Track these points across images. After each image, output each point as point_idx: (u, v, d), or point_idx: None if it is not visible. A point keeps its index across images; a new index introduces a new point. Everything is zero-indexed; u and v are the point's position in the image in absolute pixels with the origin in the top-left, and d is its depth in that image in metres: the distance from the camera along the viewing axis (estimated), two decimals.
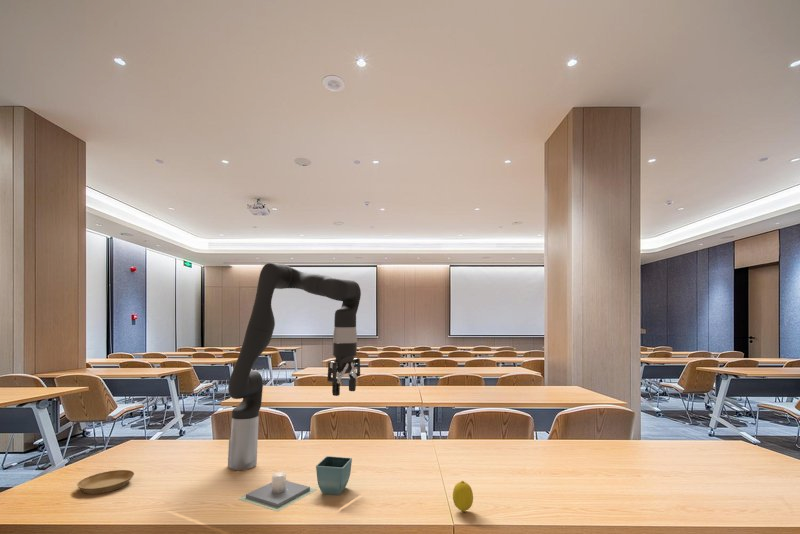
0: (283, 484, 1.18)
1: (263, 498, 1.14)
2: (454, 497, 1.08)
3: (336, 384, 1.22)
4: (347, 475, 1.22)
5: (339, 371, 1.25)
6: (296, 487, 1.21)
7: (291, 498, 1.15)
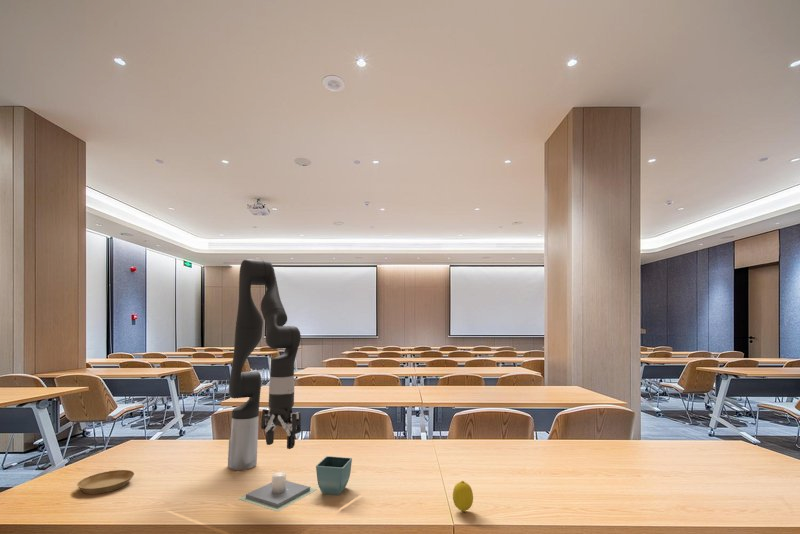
0: (283, 484, 1.18)
1: (263, 498, 1.14)
2: (454, 497, 1.08)
3: None
4: (347, 475, 1.22)
5: (287, 423, 1.20)
6: (296, 487, 1.21)
7: (291, 498, 1.15)
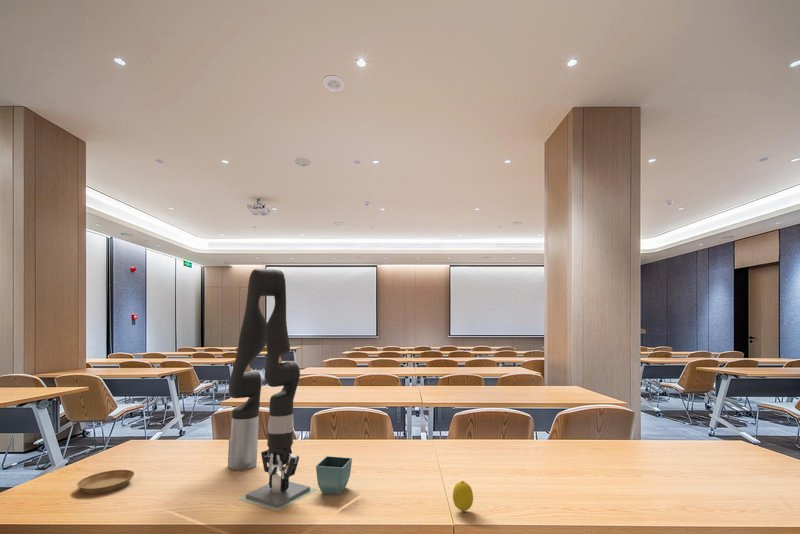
0: None
1: (263, 498, 1.14)
2: (454, 497, 1.08)
3: None
4: (347, 475, 1.22)
5: None
6: (296, 487, 1.21)
7: (291, 498, 1.15)
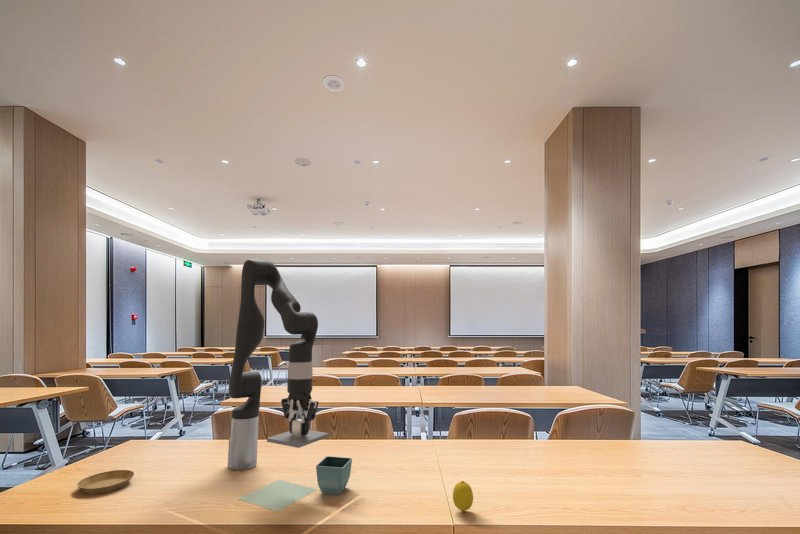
0: None
1: (284, 440, 1.16)
2: (454, 497, 1.08)
3: None
4: (347, 475, 1.22)
5: None
6: (315, 433, 1.23)
7: (311, 441, 1.17)
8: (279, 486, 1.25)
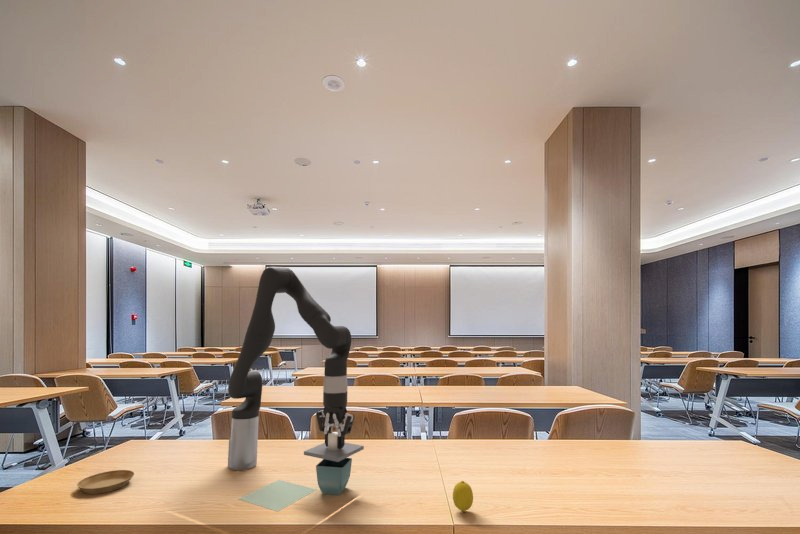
0: None
1: (322, 454, 1.18)
2: (454, 497, 1.08)
3: None
4: (347, 475, 1.22)
5: None
6: (350, 446, 1.25)
7: (348, 454, 1.19)
8: (279, 486, 1.25)
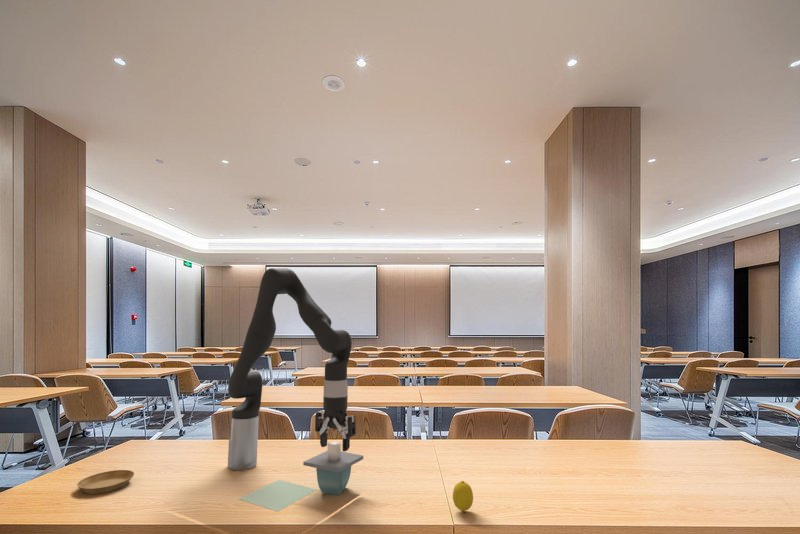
0: (339, 452, 1.22)
1: (322, 464, 1.17)
2: (454, 497, 1.08)
3: None
4: (347, 475, 1.22)
5: (341, 425, 1.23)
6: (350, 456, 1.24)
7: (348, 465, 1.18)
8: (279, 486, 1.25)
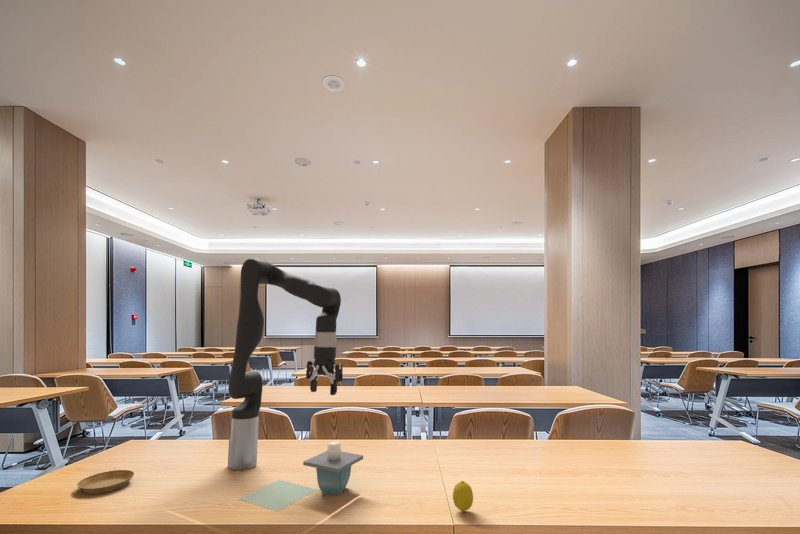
0: (339, 452, 1.22)
1: (321, 464, 1.17)
2: (454, 497, 1.08)
3: None
4: (347, 475, 1.22)
5: (330, 372, 1.35)
6: (350, 456, 1.24)
7: (348, 465, 1.18)
8: (279, 486, 1.25)
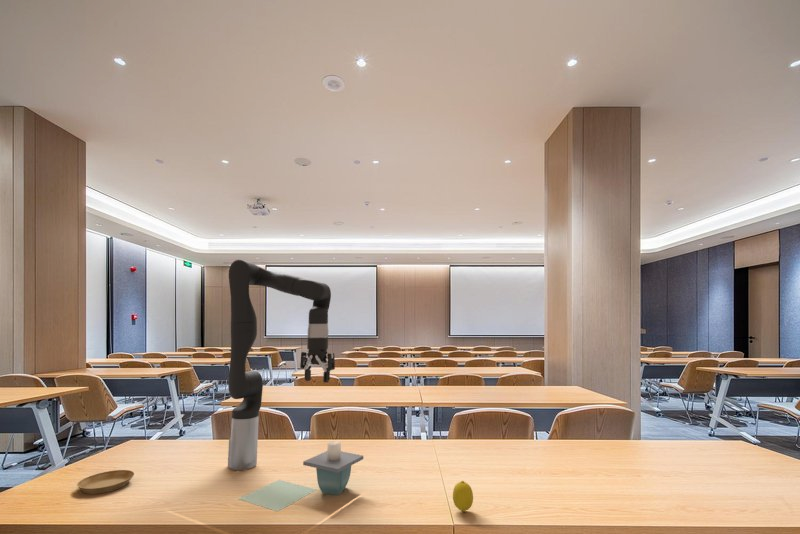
0: (339, 452, 1.22)
1: (321, 464, 1.17)
2: (454, 497, 1.08)
3: None
4: (347, 475, 1.22)
5: (323, 362, 1.44)
6: (350, 456, 1.24)
7: (348, 465, 1.18)
8: (279, 486, 1.25)
